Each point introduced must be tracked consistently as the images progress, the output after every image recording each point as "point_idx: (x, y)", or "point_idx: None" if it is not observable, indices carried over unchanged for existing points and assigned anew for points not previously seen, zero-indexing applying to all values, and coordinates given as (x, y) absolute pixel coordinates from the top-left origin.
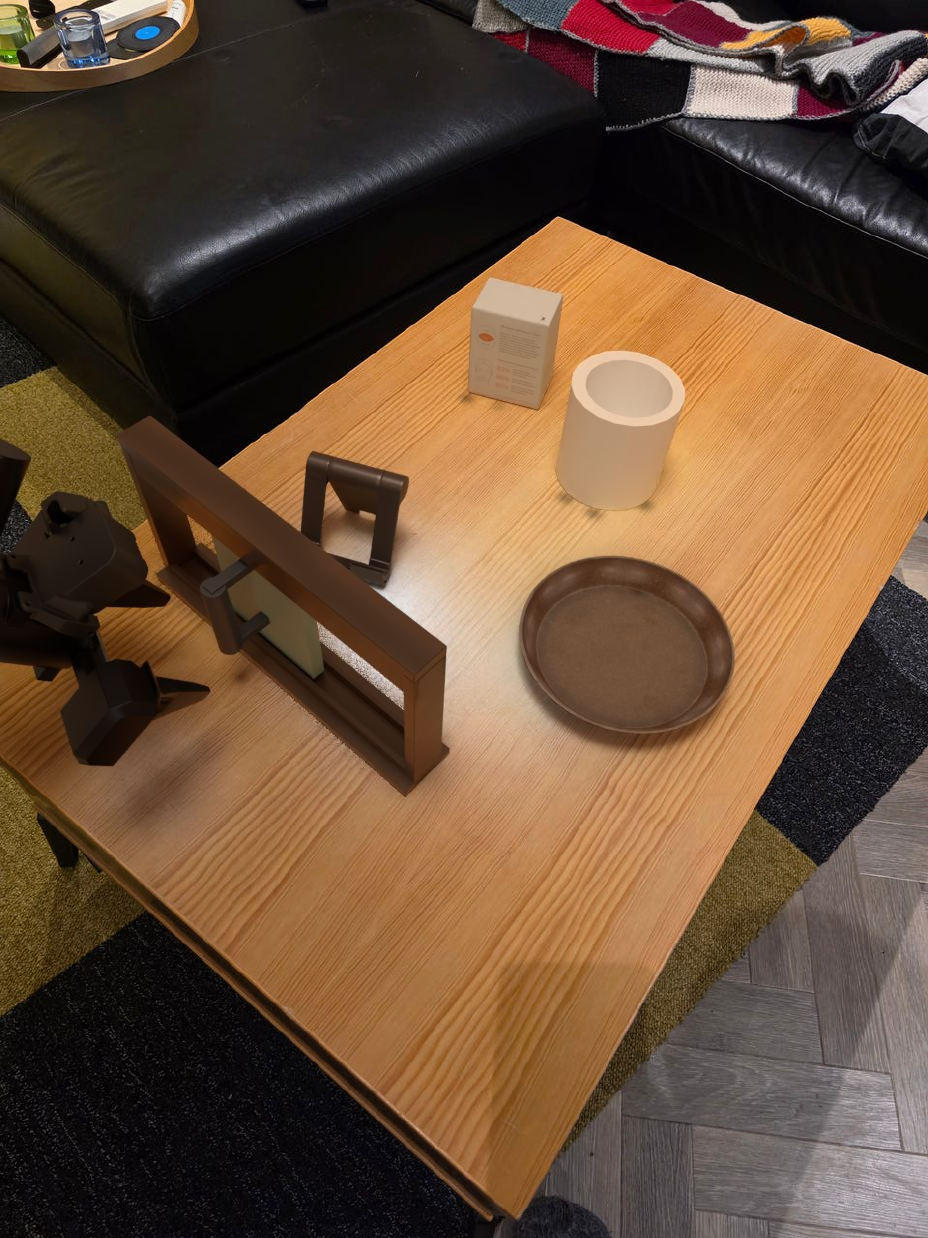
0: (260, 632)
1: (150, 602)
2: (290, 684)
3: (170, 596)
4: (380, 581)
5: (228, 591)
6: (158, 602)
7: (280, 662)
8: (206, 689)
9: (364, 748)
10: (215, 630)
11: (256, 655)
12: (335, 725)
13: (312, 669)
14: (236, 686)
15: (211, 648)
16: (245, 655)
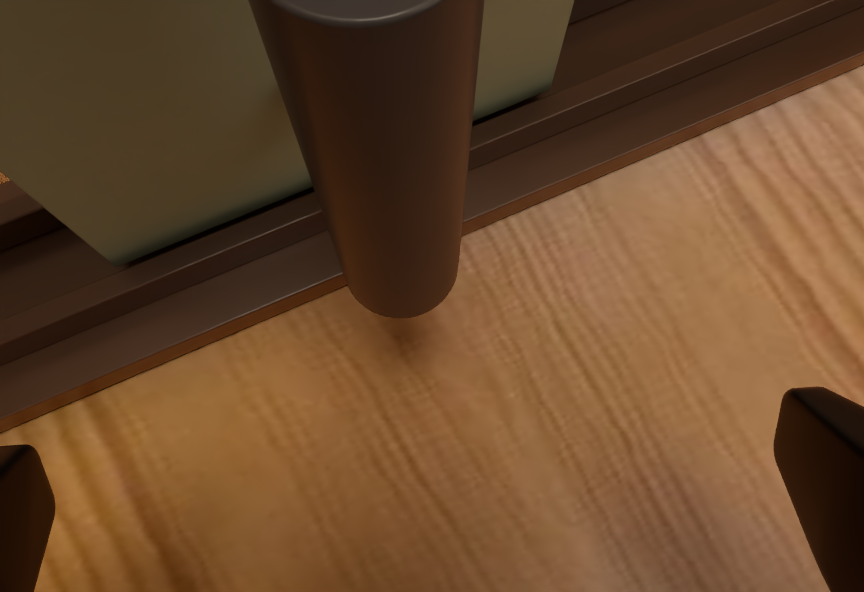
0: (278, 195)
1: (9, 583)
2: (529, 172)
3: (20, 445)
4: None
5: (68, 210)
6: (28, 531)
7: None
8: (838, 400)
9: (850, 35)
10: (432, 239)
11: None
12: (740, 88)
13: (559, 50)
14: (436, 360)
15: (231, 403)
16: (324, 291)
